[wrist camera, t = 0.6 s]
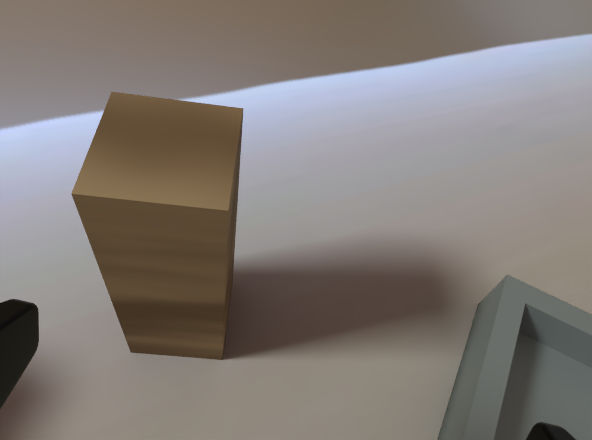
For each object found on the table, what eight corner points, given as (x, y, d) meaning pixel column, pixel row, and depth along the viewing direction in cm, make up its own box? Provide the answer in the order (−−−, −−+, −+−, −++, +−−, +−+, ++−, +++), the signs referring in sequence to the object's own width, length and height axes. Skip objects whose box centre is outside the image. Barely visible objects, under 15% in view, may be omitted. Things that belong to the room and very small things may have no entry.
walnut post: (222, 359, 24) (228, 210, 14) (131, 352, 24) (71, 193, 14) (232, 280, 27) (243, 108, 17) (150, 272, 27) (111, 91, 17)
